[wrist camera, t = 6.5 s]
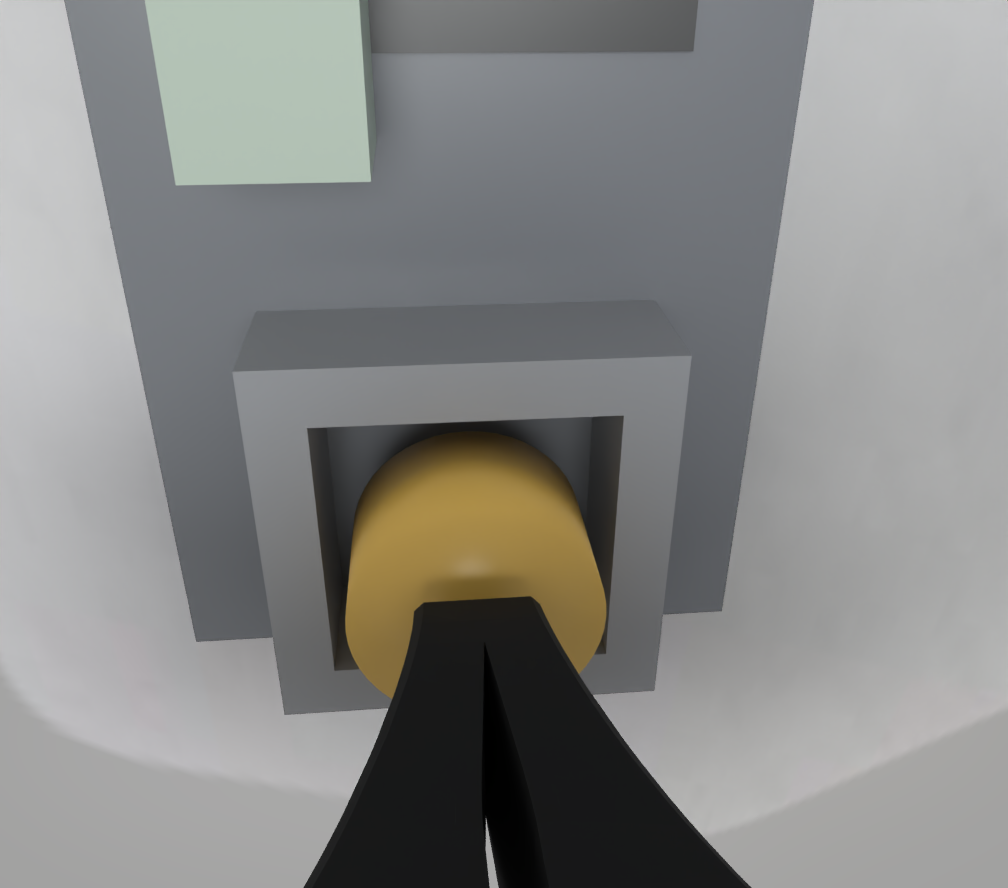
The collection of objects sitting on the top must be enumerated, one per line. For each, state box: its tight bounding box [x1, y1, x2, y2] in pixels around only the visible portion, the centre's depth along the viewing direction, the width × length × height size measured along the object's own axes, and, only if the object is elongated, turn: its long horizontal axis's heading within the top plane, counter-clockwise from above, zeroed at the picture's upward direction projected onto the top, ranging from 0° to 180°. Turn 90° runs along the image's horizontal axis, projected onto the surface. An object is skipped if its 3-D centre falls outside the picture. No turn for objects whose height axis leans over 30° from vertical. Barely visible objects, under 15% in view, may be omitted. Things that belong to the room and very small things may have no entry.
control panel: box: [64, 0, 814, 715], centre depth 11 cm, size 19×9×4 cm, turn 0°
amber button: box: [345, 431, 606, 699], centre depth 12 cm, size 3×3×2 cm
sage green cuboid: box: [145, 0, 377, 185], centre depth 10 cm, size 3×2×2 cm
